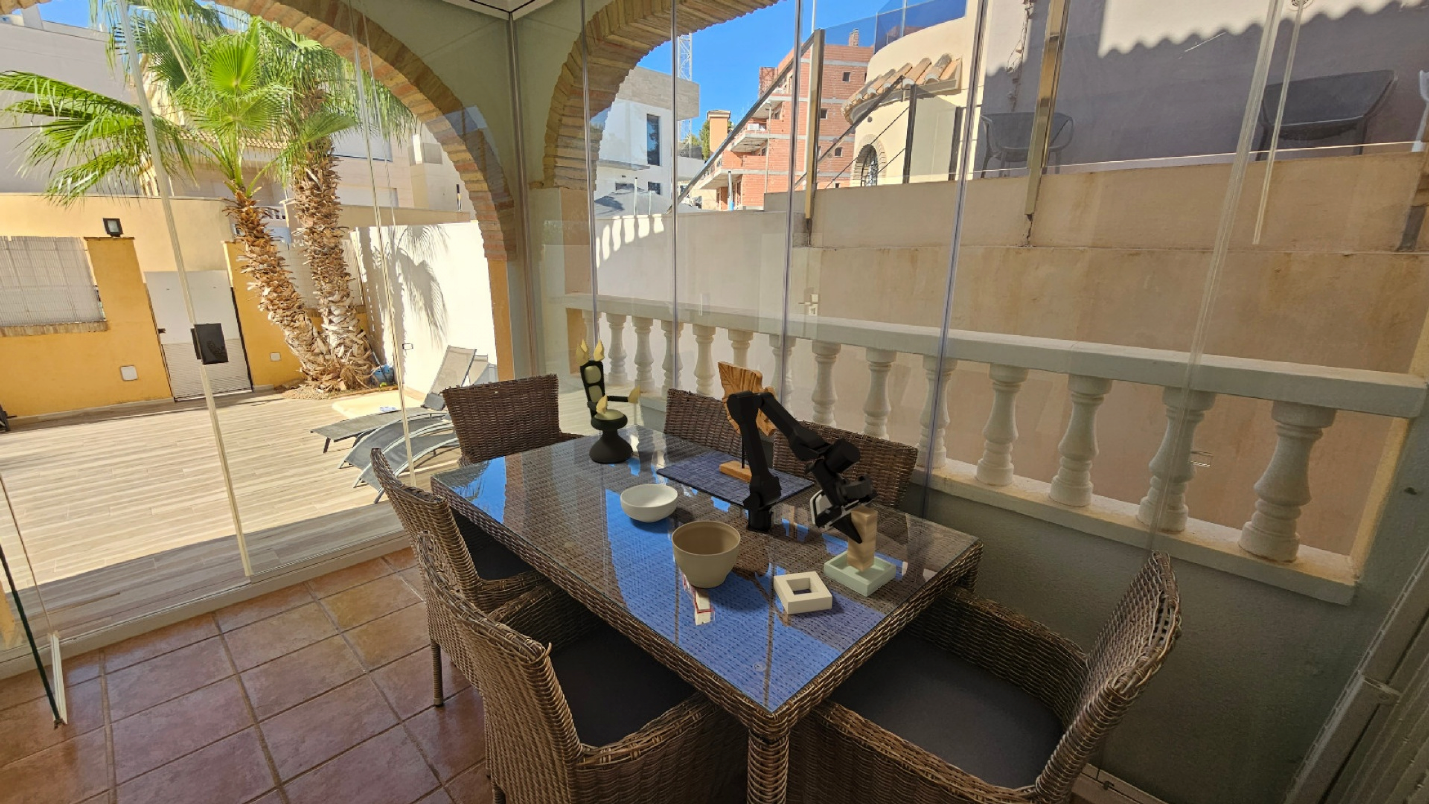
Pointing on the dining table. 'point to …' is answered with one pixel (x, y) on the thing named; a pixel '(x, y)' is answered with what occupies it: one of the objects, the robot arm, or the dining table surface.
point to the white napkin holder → (820, 506)
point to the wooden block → (863, 538)
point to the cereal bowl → (649, 502)
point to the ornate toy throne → (603, 407)
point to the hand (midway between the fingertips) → (866, 539)
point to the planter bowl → (705, 551)
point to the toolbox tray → (860, 574)
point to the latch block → (802, 602)
